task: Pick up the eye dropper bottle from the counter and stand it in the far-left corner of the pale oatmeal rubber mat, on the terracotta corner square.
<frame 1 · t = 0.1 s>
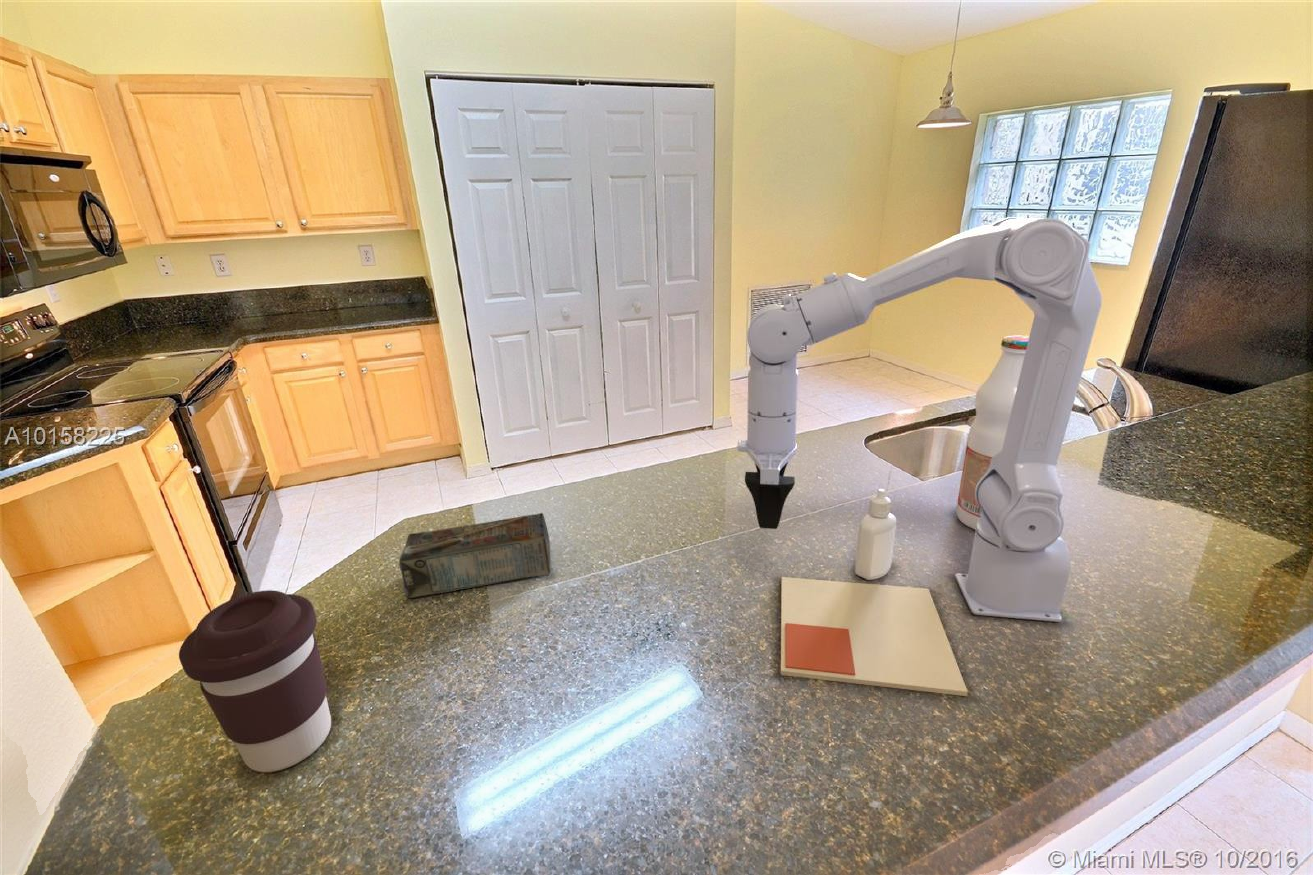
hand: (769, 511, 73), 10 cm above the countertop, tool pointing down, fingers open, 7 cm apart
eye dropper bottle: (872, 571, 77), on the countertop
mat: (860, 630, 66), on the countertop
beverage carton: (482, 574, 81), on the countertop
fruit juice: (989, 522, 88), on the countertop
coffee cup: (290, 742, 55), on the countertop
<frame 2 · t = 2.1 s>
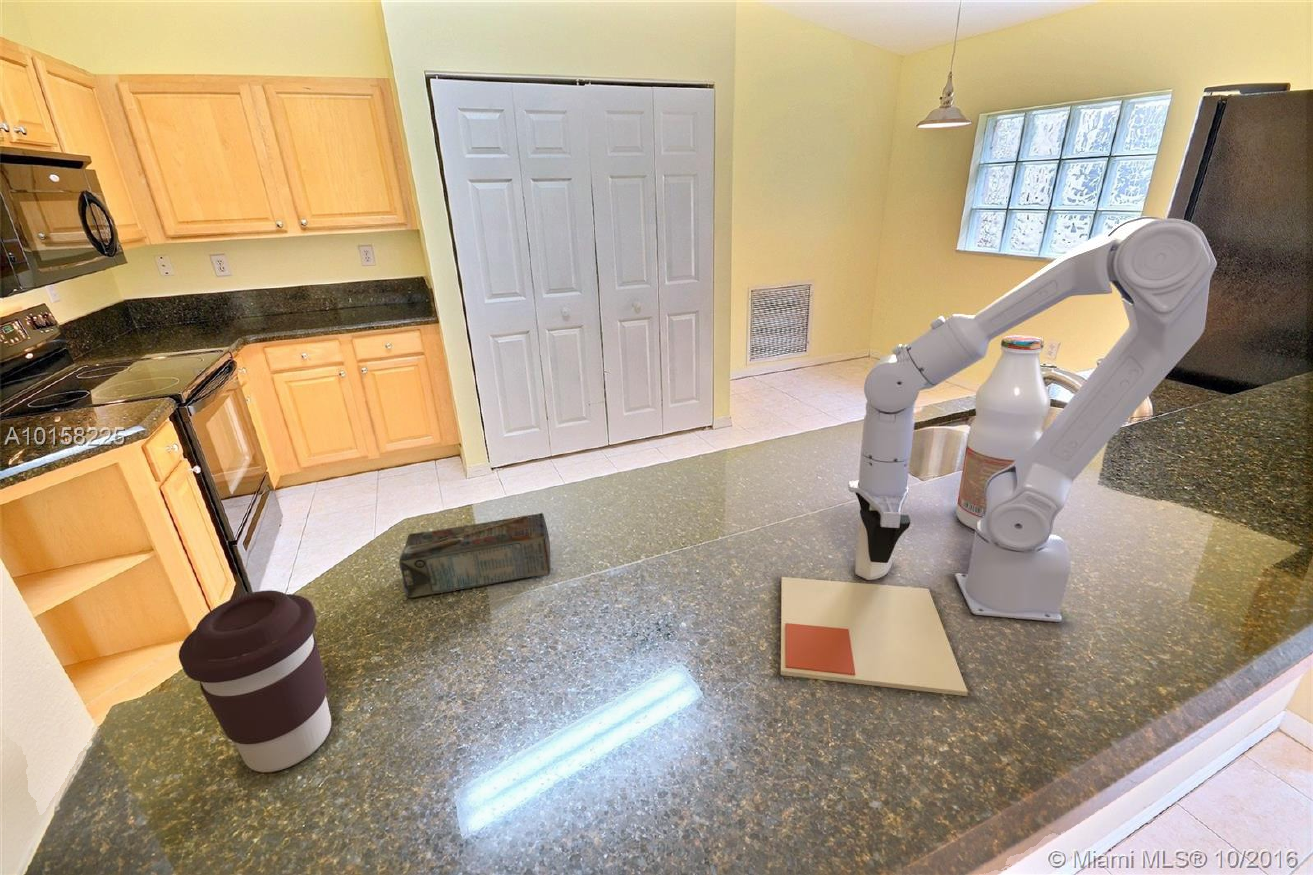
hand: (875, 548, 76), 3 cm above the countertop, tool pointing down, fingers closed on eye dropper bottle, 5 cm apart
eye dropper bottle: (872, 571, 77), on the countertop, touching gripper
everything else where it was.
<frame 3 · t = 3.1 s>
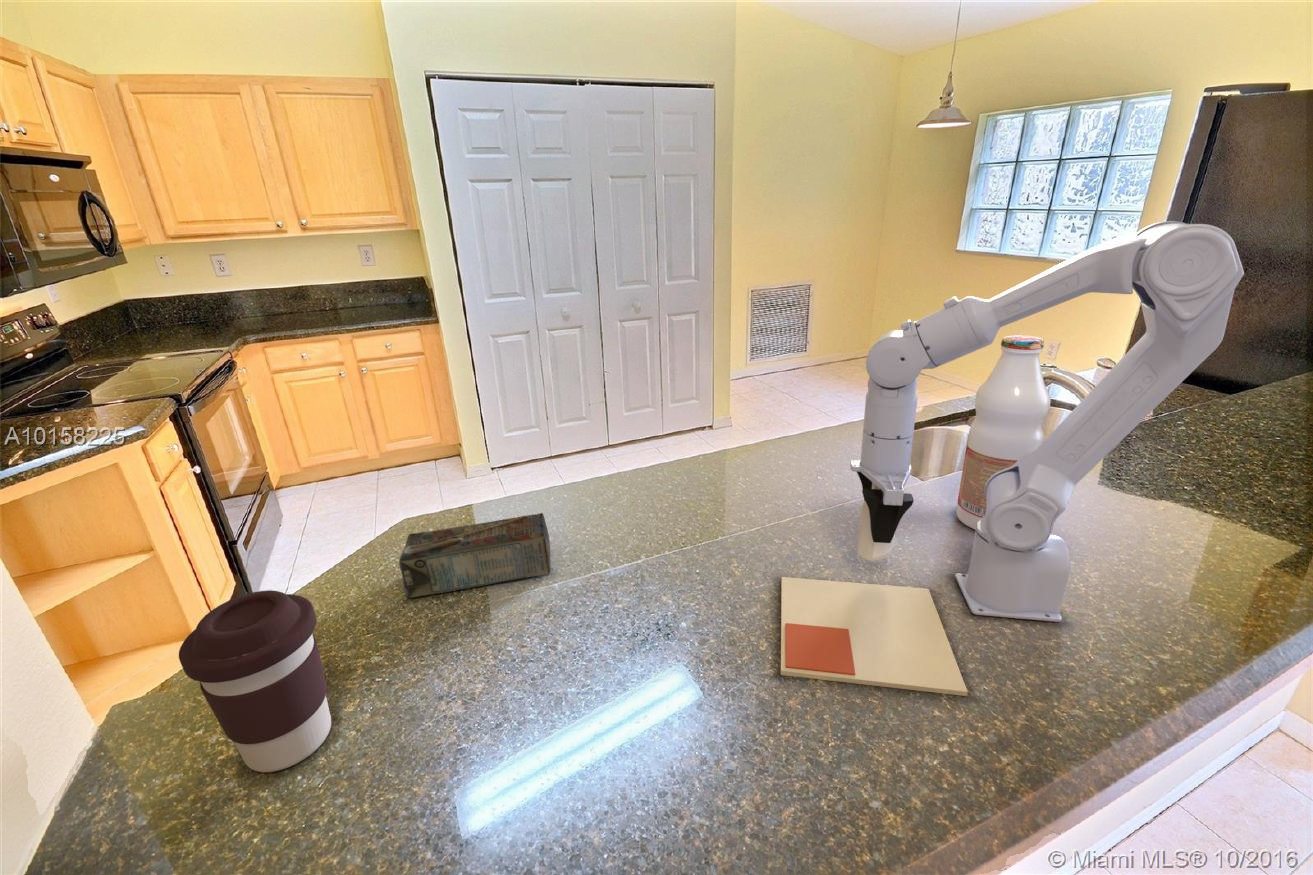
hand: (877, 529, 75), 6 cm above the countertop, tool pointing down, fingers closed on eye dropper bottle, 5 cm apart
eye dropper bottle: (875, 553, 76), point 3 cm above the countertop, touching gripper
everything else where it was.
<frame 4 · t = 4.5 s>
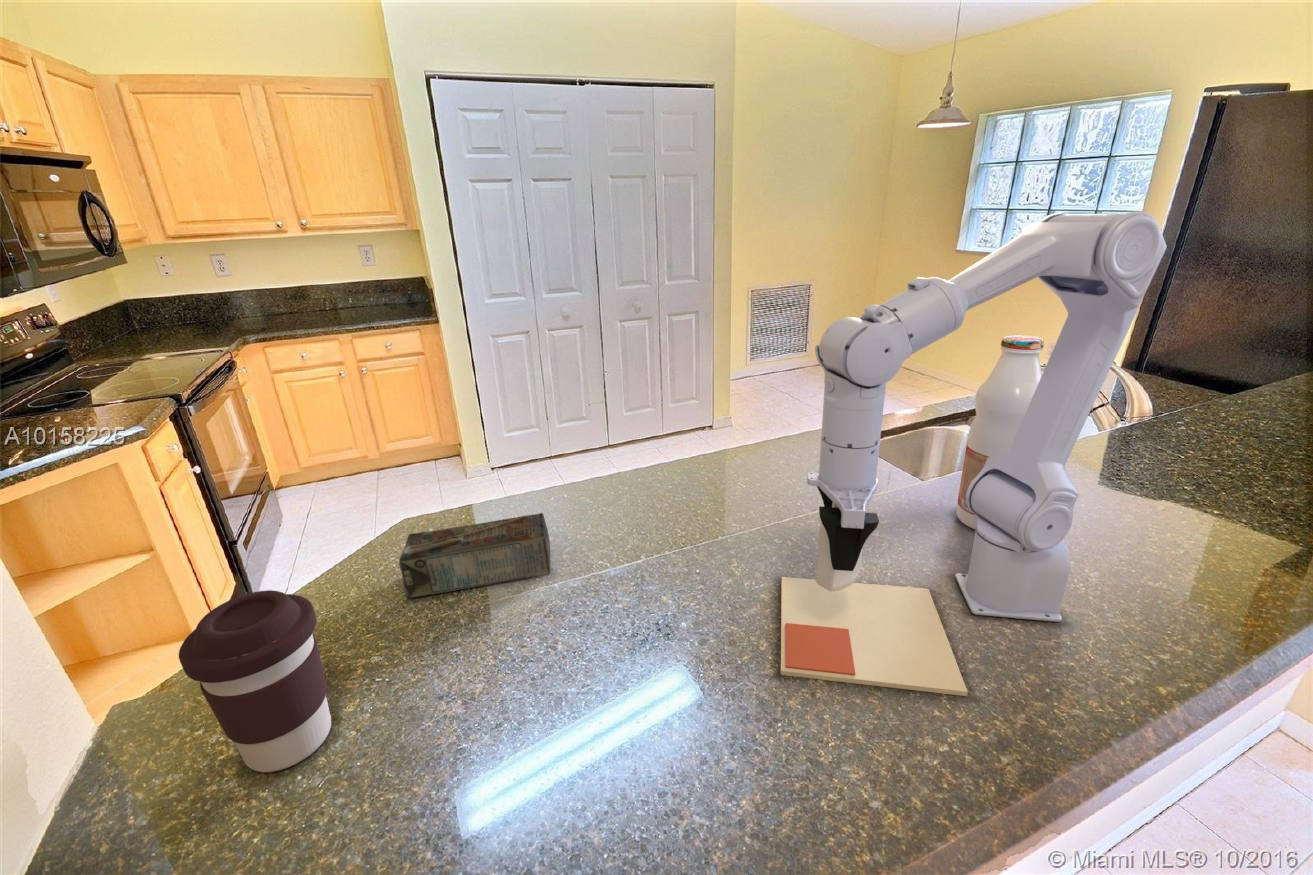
hand: (840, 553, 64), 10 cm above the countertop, tool pointing down, fingers closed on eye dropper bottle, 5 cm apart
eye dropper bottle: (837, 580, 65), point 6 cm above the countertop, touching gripper
everything else where it was.
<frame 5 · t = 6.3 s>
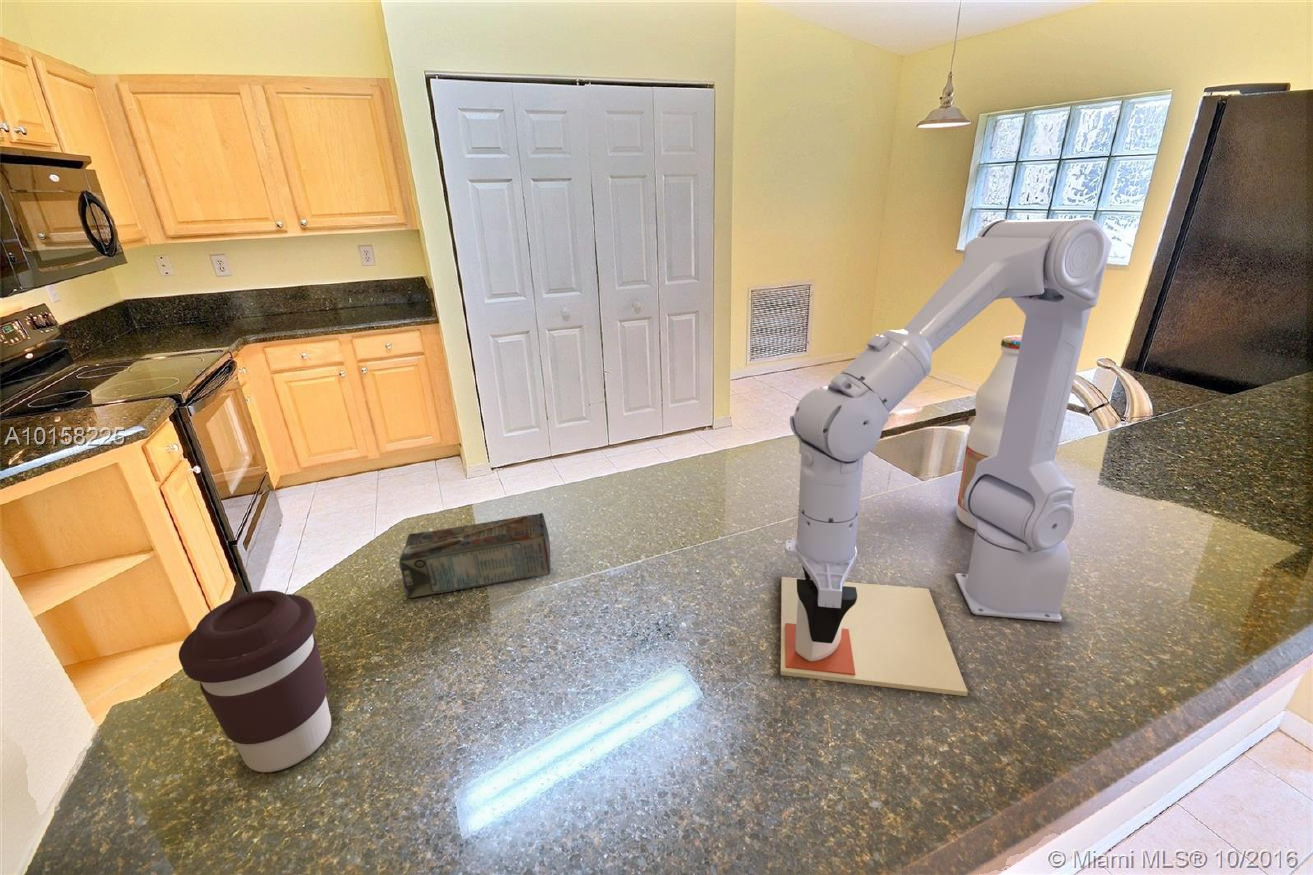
hand: (820, 621, 62), 4 cm above the countertop, tool pointing down, fingers closed on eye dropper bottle, 5 cm apart
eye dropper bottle: (817, 648, 63), point 1 cm above the countertop, touching gripper, mat
everything else where it was.
when the fingers open (4 cm above the countertop, at t = 6.8 s): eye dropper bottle stays where it is, resting on mat.
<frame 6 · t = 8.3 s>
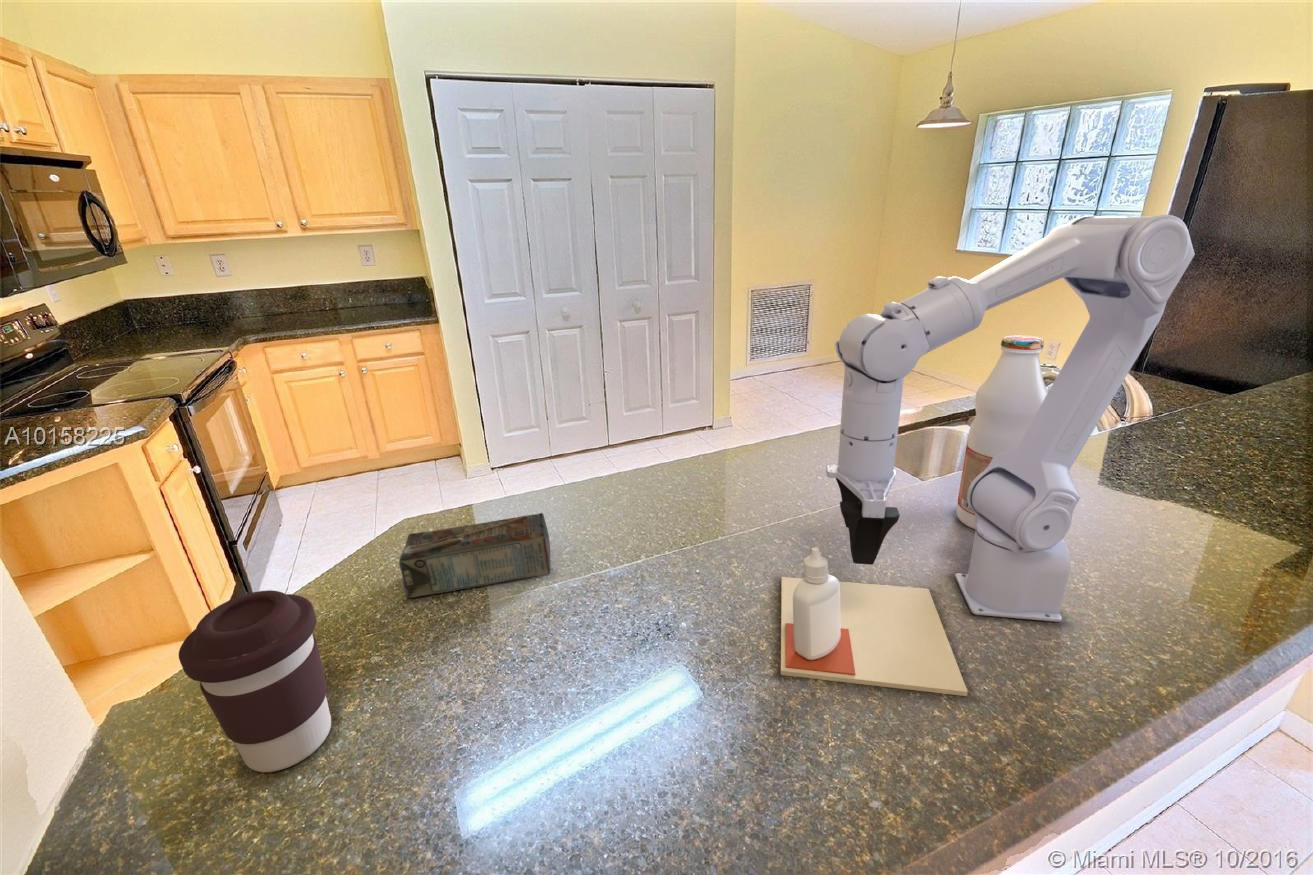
hand: (858, 543, 65), 10 cm above the countertop, tool pointing down, fingers open, 7 cm apart
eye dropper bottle: (817, 647, 63), point 1 cm above the countertop, touching mat
everything else where it was.
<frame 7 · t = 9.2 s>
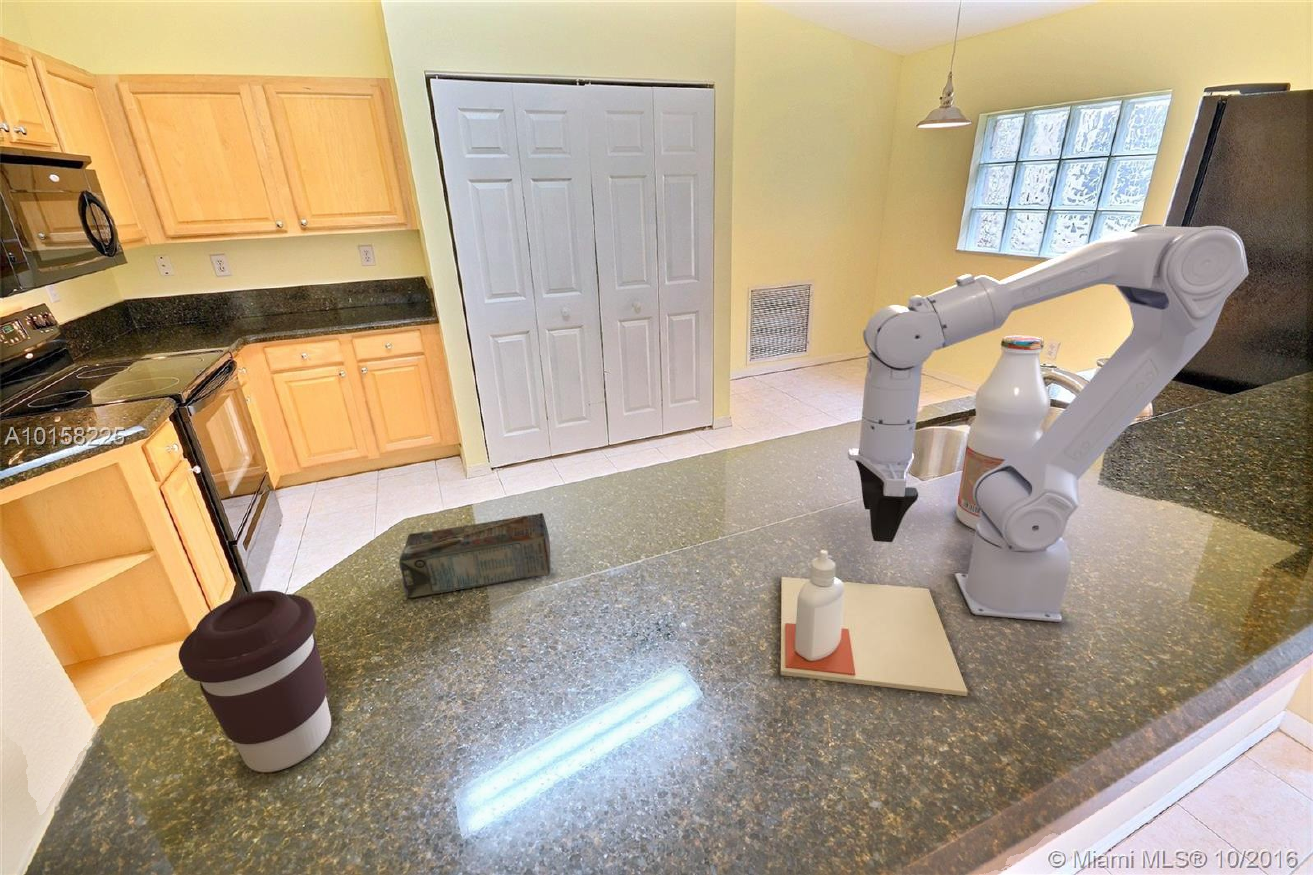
hand: (877, 523, 69), 10 cm above the countertop, tool pointing down, fingers open, 7 cm apart
nothing on the countertop moved.
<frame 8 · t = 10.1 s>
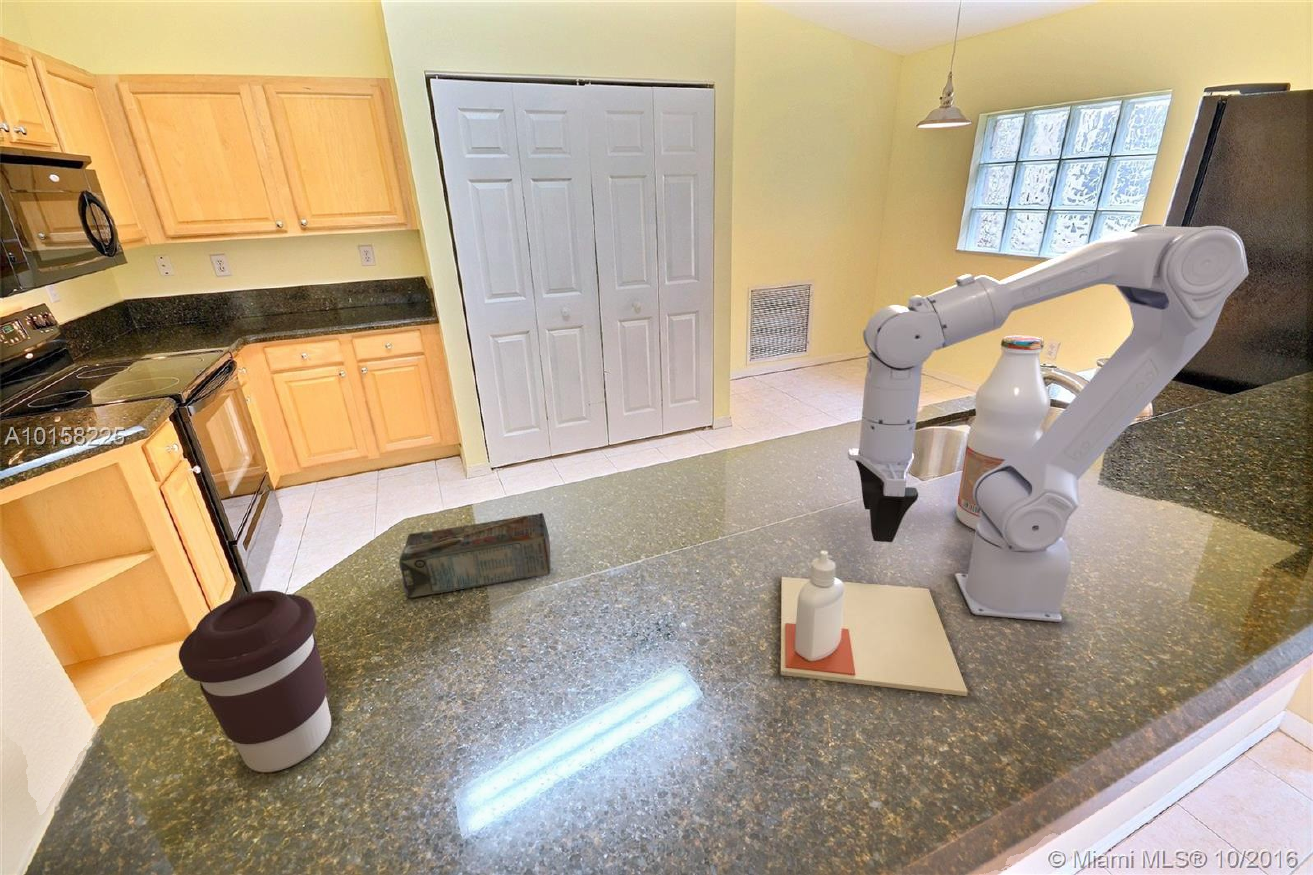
hand: (877, 523, 69), 10 cm above the countertop, tool pointing down, fingers open, 7 cm apart
nothing on the countertop moved.
at the end: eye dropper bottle 0.1 cm from the target spot, point 0.6 cm above the countertop; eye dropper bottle tilted 0° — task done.
